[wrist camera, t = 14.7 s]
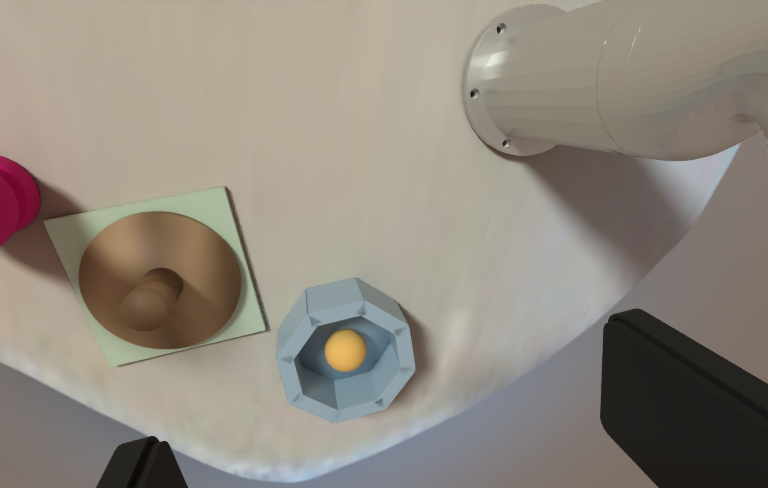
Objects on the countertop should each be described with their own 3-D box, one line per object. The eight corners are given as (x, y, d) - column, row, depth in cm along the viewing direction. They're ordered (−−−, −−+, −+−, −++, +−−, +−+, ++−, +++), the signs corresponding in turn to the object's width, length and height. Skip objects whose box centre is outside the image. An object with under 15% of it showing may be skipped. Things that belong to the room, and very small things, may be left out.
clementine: (359, 317, 41) (366, 338, 38) (366, 350, 43) (373, 374, 39) (319, 326, 41) (322, 349, 37) (327, 360, 42) (331, 385, 38)
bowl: (391, 269, 41) (403, 290, 36) (407, 369, 45) (420, 400, 41) (268, 297, 39) (265, 323, 35) (297, 398, 43) (297, 433, 39)
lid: (219, 198, 35) (206, 215, 30) (256, 327, 39) (250, 362, 34) (57, 227, 33) (12, 251, 28) (115, 358, 38) (85, 401, 32)
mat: (224, 186, 35) (223, 187, 35) (266, 327, 40) (265, 330, 40) (46, 219, 33) (42, 221, 33) (112, 363, 38) (109, 367, 38)
